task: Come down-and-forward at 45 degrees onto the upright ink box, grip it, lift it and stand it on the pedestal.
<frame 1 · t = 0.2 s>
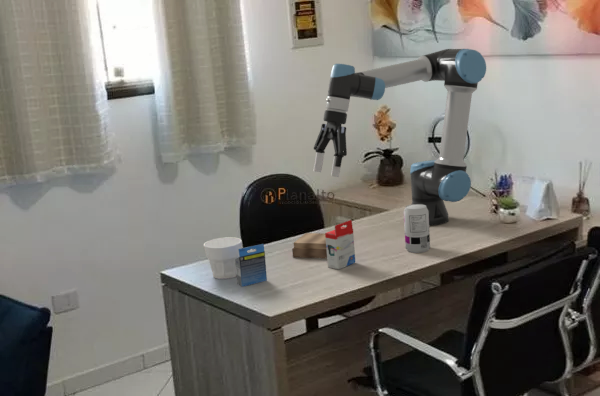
hand: (325, 174, 269), 28 cm above the table, tool tilted 15°, fingers open, 13 cm apart
pedestal: (317, 252, 279), on the table
label tape box: (252, 283, 253), on the table
cup: (226, 275, 262), on the table
supplement can: (417, 250, 272), on the table
ink box: (341, 265, 263), on the table
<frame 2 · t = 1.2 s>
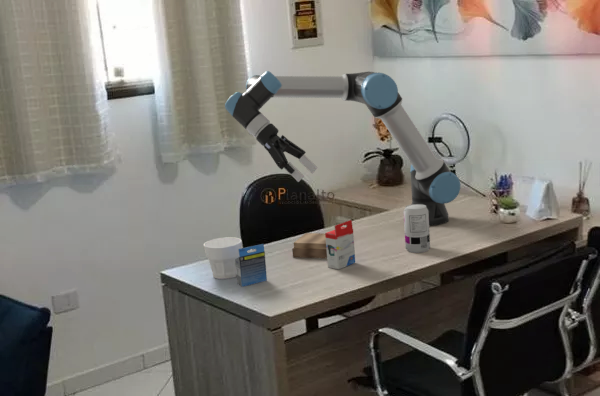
hand: (308, 174, 268), 28 cm above the table, tool tilted 45°, fingers open, 13 cm apart
nothing on the table moved.
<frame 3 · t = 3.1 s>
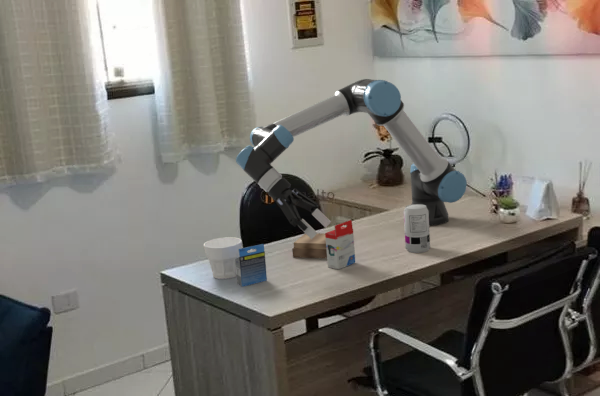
hand: (321, 230, 261), 12 cm above the table, tool tilted 45°, fingers open, 13 cm apart
nothing on the table moved.
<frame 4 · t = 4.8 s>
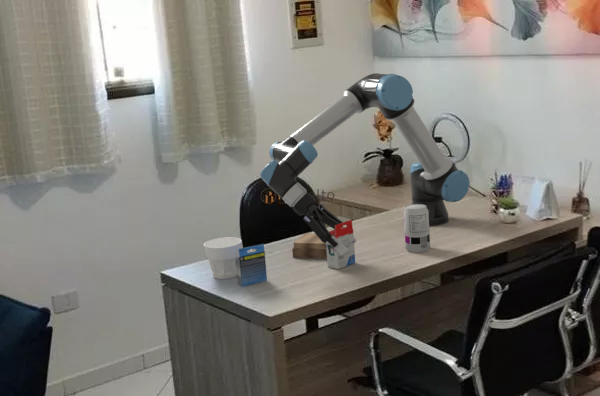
hand: (349, 247, 260), 6 cm above the table, tool tilted 45°, fingers closed on ink box, 9 cm apart
ink box: (341, 265, 263), on the table, touching gripper
everything else where it was.
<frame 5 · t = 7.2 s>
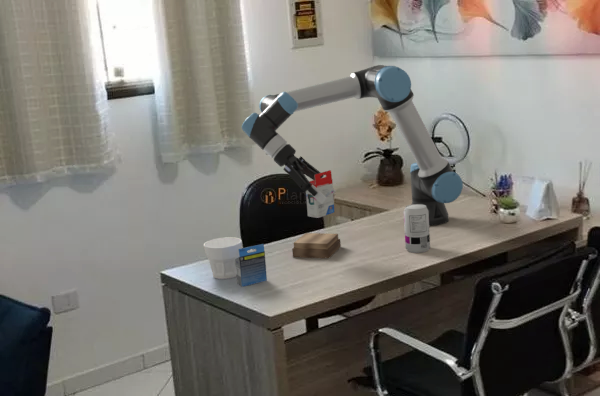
hand: (328, 197, 267), 21 cm above the table, tool tilted 45°, fingers closed on ink box, 9 cm apart
ink box: (321, 215, 270), point 14 cm above the table, touching gripper
everything else where it was.
when the fingers open (12 cm above the table, at t = 9.7 s): ink box drops 1 cm, resting on pedestal.
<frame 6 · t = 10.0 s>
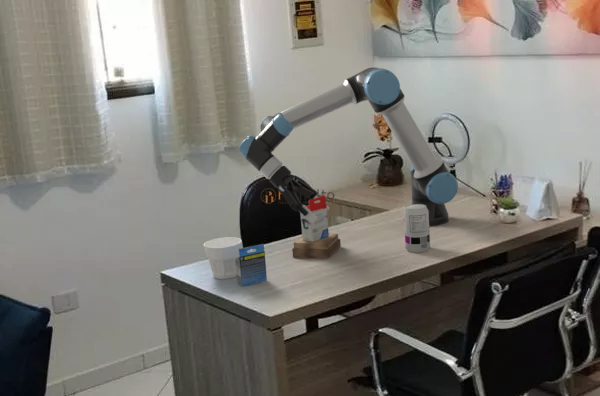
hand: (321, 215, 275), 13 cm above the table, tool tilted 45°, fingers open, 12 cm apart
ink box: (315, 238, 278), point 5 cm above the table, touching pedestal
everything else where it was.
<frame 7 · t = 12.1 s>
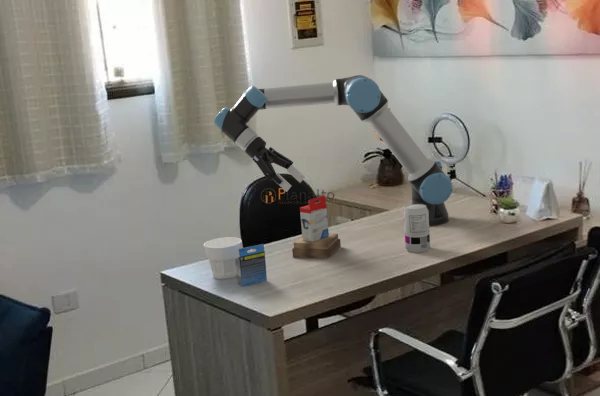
hand: (296, 184, 280), 23 cm above the table, tool tilted 45°, fingers open, 13 cm apart
nothing on the table moved.
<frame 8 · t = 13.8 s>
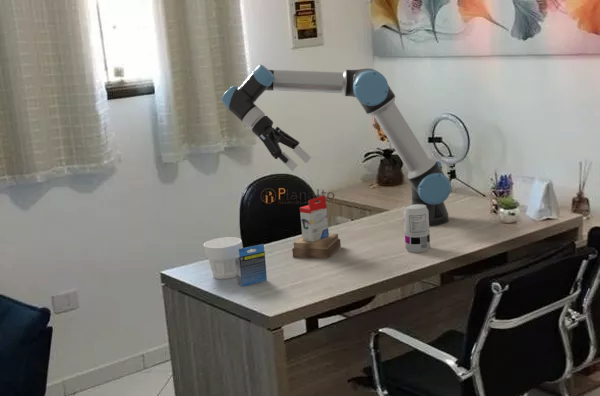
hand: (301, 164, 281), 30 cm above the table, tool tilted 45°, fingers open, 13 cm apart
nothing on the table moved.
at the end: ink box inside the target area on the pedestal (0.2 cm from its centre), point 4.8 cm above the pedestal's base; ink box tilted 0°; the gripper is holding nothing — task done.
